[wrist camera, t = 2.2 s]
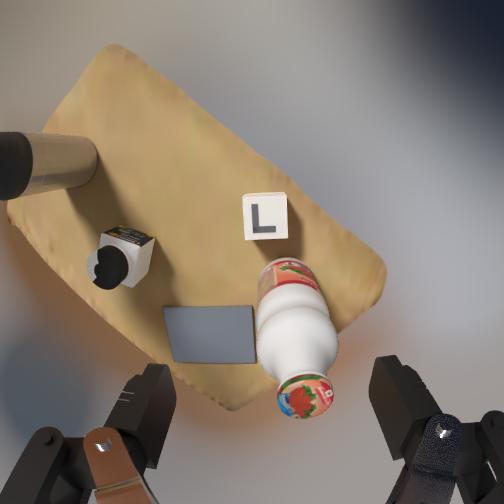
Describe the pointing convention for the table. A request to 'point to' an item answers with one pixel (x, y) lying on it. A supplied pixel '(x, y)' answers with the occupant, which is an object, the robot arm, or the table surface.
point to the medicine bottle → (120, 258)
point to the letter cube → (265, 215)
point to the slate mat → (211, 334)
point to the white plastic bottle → (295, 337)
